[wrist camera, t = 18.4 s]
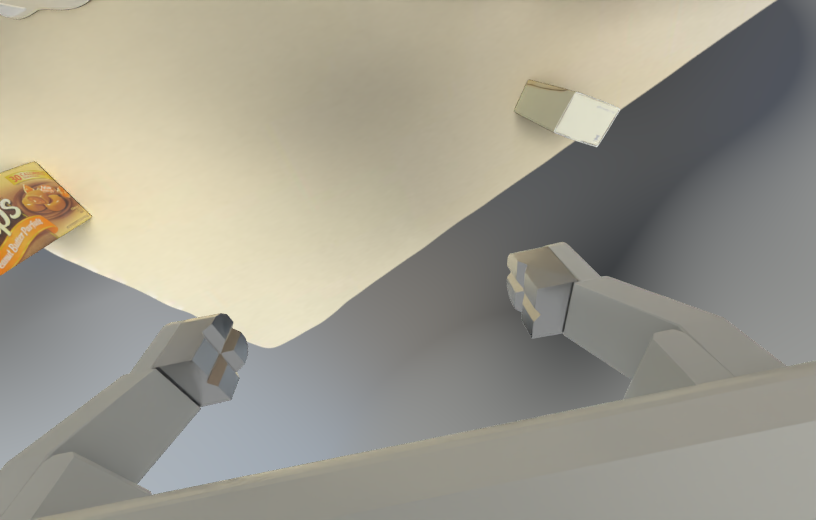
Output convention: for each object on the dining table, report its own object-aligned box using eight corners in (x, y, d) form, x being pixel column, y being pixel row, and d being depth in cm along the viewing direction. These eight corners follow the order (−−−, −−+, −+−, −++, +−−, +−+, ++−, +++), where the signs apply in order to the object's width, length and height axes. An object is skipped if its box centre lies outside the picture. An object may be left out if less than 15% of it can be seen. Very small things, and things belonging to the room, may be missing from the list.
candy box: (9, 170, 41) (-149, 225, 28) (36, 159, 40) (-112, 211, 28) (71, 225, 46) (-40, 292, 33) (95, 216, 45) (-7, 281, 33)
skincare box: (564, 93, 43) (624, 107, 33) (547, 125, 45) (598, 148, 35) (526, 78, 41) (577, 89, 31) (511, 113, 43) (553, 133, 34)
